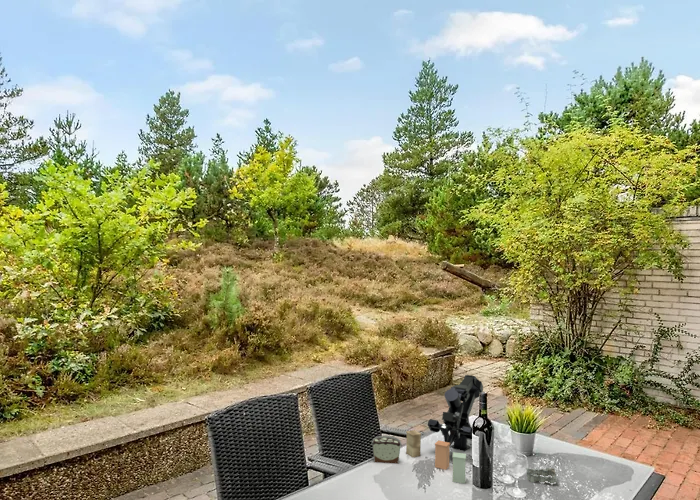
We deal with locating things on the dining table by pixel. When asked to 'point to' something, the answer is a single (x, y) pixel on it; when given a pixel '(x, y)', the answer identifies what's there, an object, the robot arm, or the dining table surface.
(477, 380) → the robot arm
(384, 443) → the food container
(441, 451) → the orange rectangular block
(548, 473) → the egg carton
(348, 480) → the dining table surface
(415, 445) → the oak key
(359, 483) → the dining table surface
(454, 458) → the sage key
